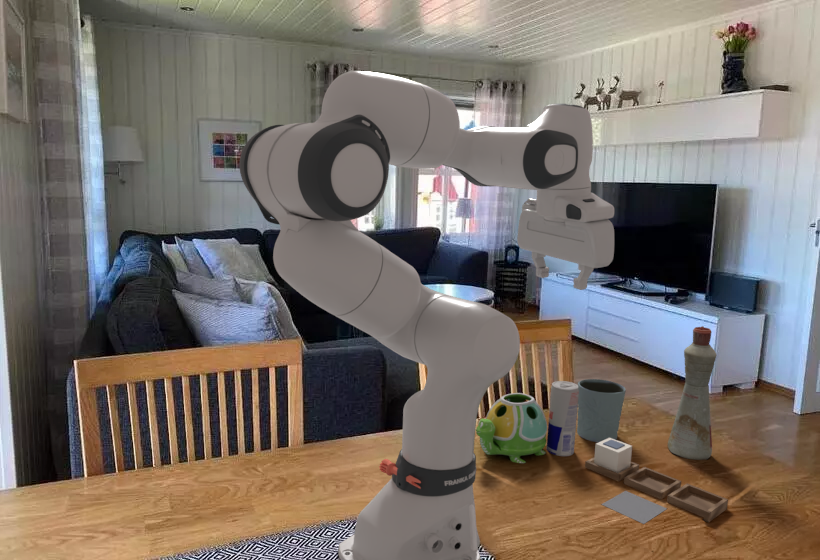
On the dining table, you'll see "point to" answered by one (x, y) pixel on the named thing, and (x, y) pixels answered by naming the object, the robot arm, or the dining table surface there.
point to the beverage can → (562, 418)
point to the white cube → (613, 455)
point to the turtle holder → (513, 427)
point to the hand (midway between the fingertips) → (560, 282)
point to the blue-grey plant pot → (599, 409)
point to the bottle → (695, 401)
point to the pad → (634, 507)
